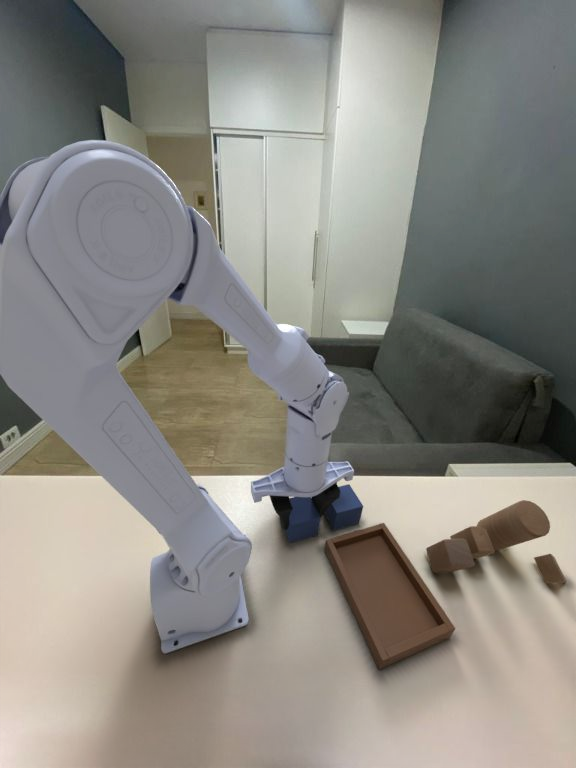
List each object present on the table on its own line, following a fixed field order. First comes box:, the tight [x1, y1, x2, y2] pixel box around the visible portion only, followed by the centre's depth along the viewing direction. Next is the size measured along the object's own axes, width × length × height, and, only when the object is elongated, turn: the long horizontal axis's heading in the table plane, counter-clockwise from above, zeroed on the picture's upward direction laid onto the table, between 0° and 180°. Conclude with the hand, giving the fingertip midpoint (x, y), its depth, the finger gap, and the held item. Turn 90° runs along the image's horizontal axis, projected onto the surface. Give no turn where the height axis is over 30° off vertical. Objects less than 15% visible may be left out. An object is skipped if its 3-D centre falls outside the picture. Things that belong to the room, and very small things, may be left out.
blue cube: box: [284, 497, 322, 544], centre depth 46 cm, size 4×4×4 cm
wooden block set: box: [425, 499, 567, 584], centre depth 41 cm, size 18×9×10 cm, turn 93°
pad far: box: [324, 484, 364, 531], centre depth 48 cm, size 4×4×4 cm
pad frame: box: [323, 522, 456, 670], centre depth 39 cm, size 10×14×2 cm
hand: (299, 520), depth 47 cm, fingers closed on blue cube, 4 cm apart
